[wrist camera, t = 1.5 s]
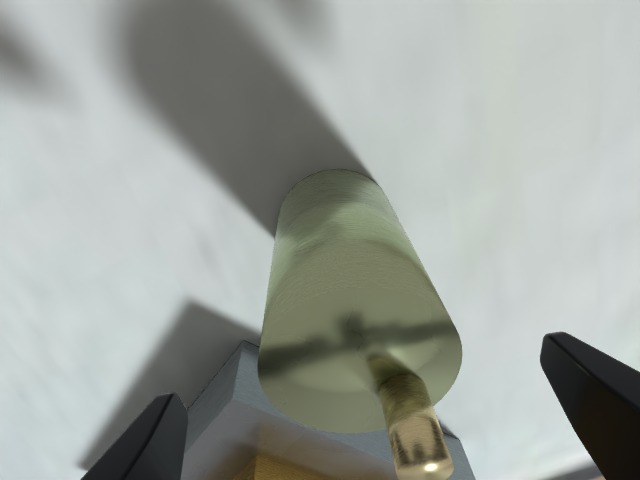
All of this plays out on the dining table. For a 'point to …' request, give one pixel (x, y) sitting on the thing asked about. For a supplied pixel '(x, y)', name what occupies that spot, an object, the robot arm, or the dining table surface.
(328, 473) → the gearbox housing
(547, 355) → the robot arm
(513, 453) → the dining table surface
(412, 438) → the spout can
